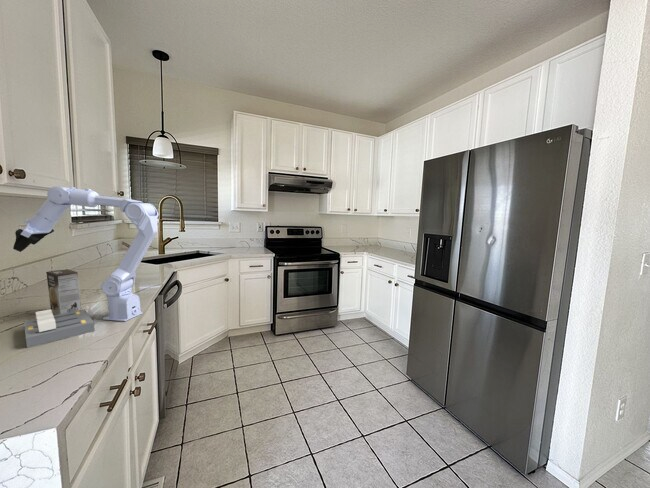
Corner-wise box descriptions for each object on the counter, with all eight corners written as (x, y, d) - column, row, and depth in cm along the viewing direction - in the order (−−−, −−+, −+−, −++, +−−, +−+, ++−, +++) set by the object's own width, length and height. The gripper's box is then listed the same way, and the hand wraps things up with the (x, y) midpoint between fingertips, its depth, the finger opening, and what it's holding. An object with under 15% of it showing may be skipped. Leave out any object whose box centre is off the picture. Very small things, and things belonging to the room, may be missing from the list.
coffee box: (50, 312, 103) (45, 271, 101) (71, 307, 108) (67, 268, 106) (60, 317, 99) (55, 274, 97) (82, 311, 104) (78, 271, 102)
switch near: (55, 325, 84) (54, 318, 84) (56, 328, 82) (55, 320, 82) (38, 328, 82) (37, 321, 81) (39, 332, 80) (38, 324, 79)
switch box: (85, 316, 99) (84, 309, 99) (94, 330, 88) (93, 322, 88) (25, 330, 88) (24, 321, 88) (27, 348, 77) (25, 337, 77)
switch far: (51, 315, 91) (50, 309, 91) (52, 318, 89) (51, 311, 89) (36, 319, 89) (35, 312, 88) (36, 321, 87) (36, 314, 86)
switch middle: (53, 320, 88) (52, 313, 88) (54, 323, 86) (53, 316, 86) (37, 323, 85) (36, 316, 85) (37, 326, 83) (37, 319, 83)
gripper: (45, 205, 97) (23, 234, 98) (20, 213, 85) (-6, 246, 85) (68, 216, 101) (46, 244, 101) (46, 226, 88) (22, 258, 88)
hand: (24, 246), depth 93 cm, fingers open, 7 cm apart
